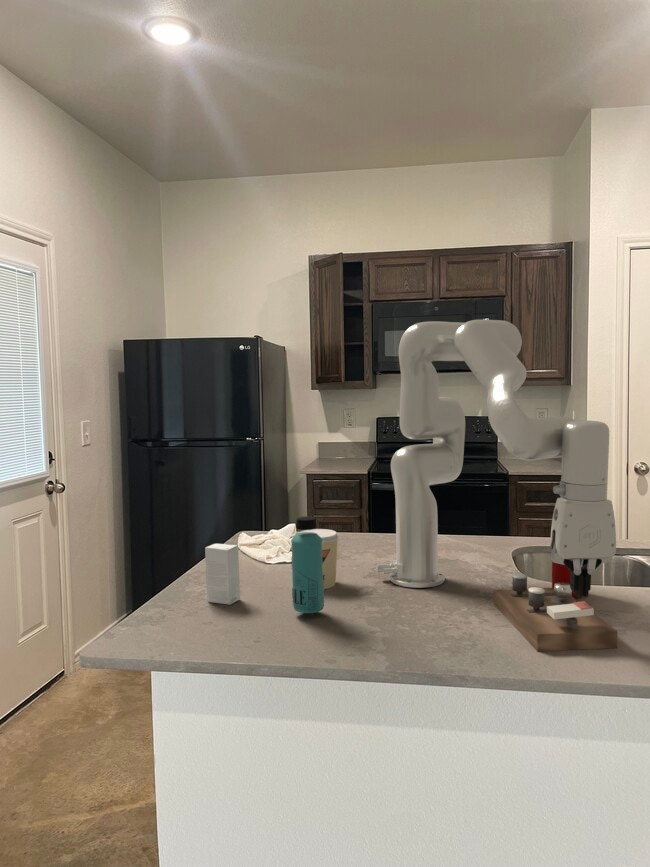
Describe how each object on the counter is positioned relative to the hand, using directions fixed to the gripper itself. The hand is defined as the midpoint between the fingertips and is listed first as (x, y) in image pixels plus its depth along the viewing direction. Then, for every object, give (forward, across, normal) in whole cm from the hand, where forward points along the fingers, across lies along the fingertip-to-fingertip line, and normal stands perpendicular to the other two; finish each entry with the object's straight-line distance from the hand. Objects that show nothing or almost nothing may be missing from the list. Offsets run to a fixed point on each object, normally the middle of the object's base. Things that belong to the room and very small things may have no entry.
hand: (580, 594), depth 117 cm
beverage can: (+9, +9, +24) cm, 27 cm away
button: (+4, +2, +12) cm, 13 cm away
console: (+9, -2, +8) cm, 12 cm away
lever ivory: (+6, -5, +7) cm, 10 cm away
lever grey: (+6, -5, +16) cm, 18 cm away
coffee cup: (+10, -44, +38) cm, 59 cm away
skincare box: (+10, -65, +29) cm, 72 cm away
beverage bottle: (+10, -47, +18) cm, 52 cm away
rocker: (+4, -2, -1) cm, 4 cm away
